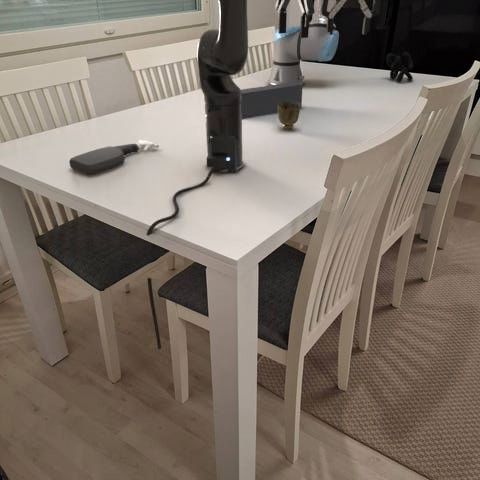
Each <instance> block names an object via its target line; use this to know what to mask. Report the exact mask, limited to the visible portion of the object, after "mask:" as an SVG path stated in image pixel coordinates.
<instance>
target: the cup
mask: <svg viewBox="0 0 480 480" xmlns="http://www.w3.org/2000/svg"><path fill="white" fill-rule="evenodd" d="M300 106H301V104H300V103H297V102H295V103H294V104H291V101H289V102H287V101H284V102H283V103H282V102H280V103H277V109H278V113H277V118H278V121H279V123H280V124H282V129H283V130H286V131H291V130H293V129H294V127H295V124H296V123H297V122H298V120H299V118H300V112H301V109H300Z"/></svg>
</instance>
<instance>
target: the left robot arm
mask: <svg viewBox="0 0 480 480" xmlns="http://www.w3.org/2000/svg"><path fill="white" fill-rule="evenodd" d="M217 1H218V7H219V29H217V28H216V29H213V28H212V29H208V30H205V32H203V33H202V34H201V36H200V37H199V39H198V42H197V49H196V57H197V59H196V61H197V69H198V78H199V85H200V90H201V92H202V94H203V99H204V100H203V101H204V116H205V117H204V118H205V133H206V134H205V135H206V151H207V152H206V153H207V156H206V168H208V169H209V172H208V174H207V176H206V178H204V180H203V181H202V182H200V183H199V184H197V185H193V186H191V187H185V188H182V189H179V190H178V191H176V192H175V193H174V195H173V196H172V203H173V206H174V209H175V210H174V212H173V213H172V214H171V215H169V216H165V217H162V218H160V219H157V220H155V221H154V222H152V224H151V225H150V226H149V228H148V229H147V231H146V236H151V234H152V232H153V230H154V229H155V228H156V227H157V226H158V225H160V224H162V223H164V222H167V221H171V220H173V219H175V218H176V217H177V216H178V214H179V212H180V207H179V204H178V201H177V198H178V196H180V195H181V194H183V193H185V192H189V191H192V190H195V189H198V188H200V187H204V186H205V185H206V184H207V183H208V182H209V180H210V178H211V176H212V174H213V173H237V171H239V170H240V169H242V168H243V166H244V160H243V119H242V95H241V90H242V89H241V88H240V87H239V86H238V85H237V84H236V82H234V80H233V78H232V77H231V76H235V75H238V74H240V73H241V72H242V71H243V69H244V68H245V66H246V63H247V59H248V54H249V32H248V31H249V29H248V27H249V25H248V24H249V23H248V0H217ZM372 1H373V3H372V10H370V9H369V6H368V5H367V3H366V1H365V0H336V3H335V5H334V6H333V8H332V9H331V10H330V12H328V11H327V6H328V0H322V6H321V14H322V15H323V16H325V17H327V32H329V35H333V24H335V18H333V17H335V16H336V14H337V13H338V12H339V11H340V10H341V8H344V9H350V8H351V9H358V8H360V10H361V11H362V13H363V14H364V15H363V16H364V18H363V23H362V30H361V34H362V35H364V36H365V35H367V33H369V32H370V29H371V22H372V21H371V20H372V18H373V17H376V16H379V15H380V12H381V11H380V10H381V0H372ZM147 287H148V297H149V303H150V309H151V313H152V314H151V315H152V319H153V326H154V331H155V337H156V345H157V349H158V350H161V349H162V343H161V336H160V331H159V330H160V329H159V324H158V317H157V312H156V307H155V300H154V293H153V283H152V278H151V277H147Z"/></svg>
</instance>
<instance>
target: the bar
mask: <svg viewBox="0 0 480 480" xmlns="http://www.w3.org/2000/svg"><path fill="white" fill-rule="evenodd" d="M303 86H304V83H303V84H300V83H297V82H291V83H284V84H277V85H265V86H257V87H250V88H243V89H240V90H241V95H242V120H243V119H249V118H254V117H260V116H265V115H271V114H276V113H277V114H278V109H277V103H280V102H282V103H283V102H284V101H287V102H289V101H291V104H294V103H295V102H297V103H300V104H301V106H300V110H301V109H302V105H303V104H302V103H303Z"/></svg>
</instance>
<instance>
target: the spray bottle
mask: <svg viewBox="0 0 480 480" xmlns="http://www.w3.org/2000/svg"><path fill="white" fill-rule="evenodd" d="M159 148H160V145H159V144H158V143H155V142H151V141H148V140H144V139H139V140H138V141H137V142H135V143H129V144H128V143H126V144H122V145H113V146H105V147H100V148H97V149H94V150H90V151H87V152H83V153H81V154H78V155H74V156H73V157H70V159H69V161H68V162H69V167H70V168H71V169H72V170H74V171H75V172H78V173H81V174H83V175H85V176H89V177H90V176H91V177H92V176H95V175H99V174H102V173H105V172H107V171H110V170H113V169H116V168H118V167H120V166H122V165H123V164H124V163H125V158H126V156H127V155H131V154H133V153H138V151H140V150H143V151H144V152H146V151H147V150H149V149H159Z"/></svg>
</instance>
